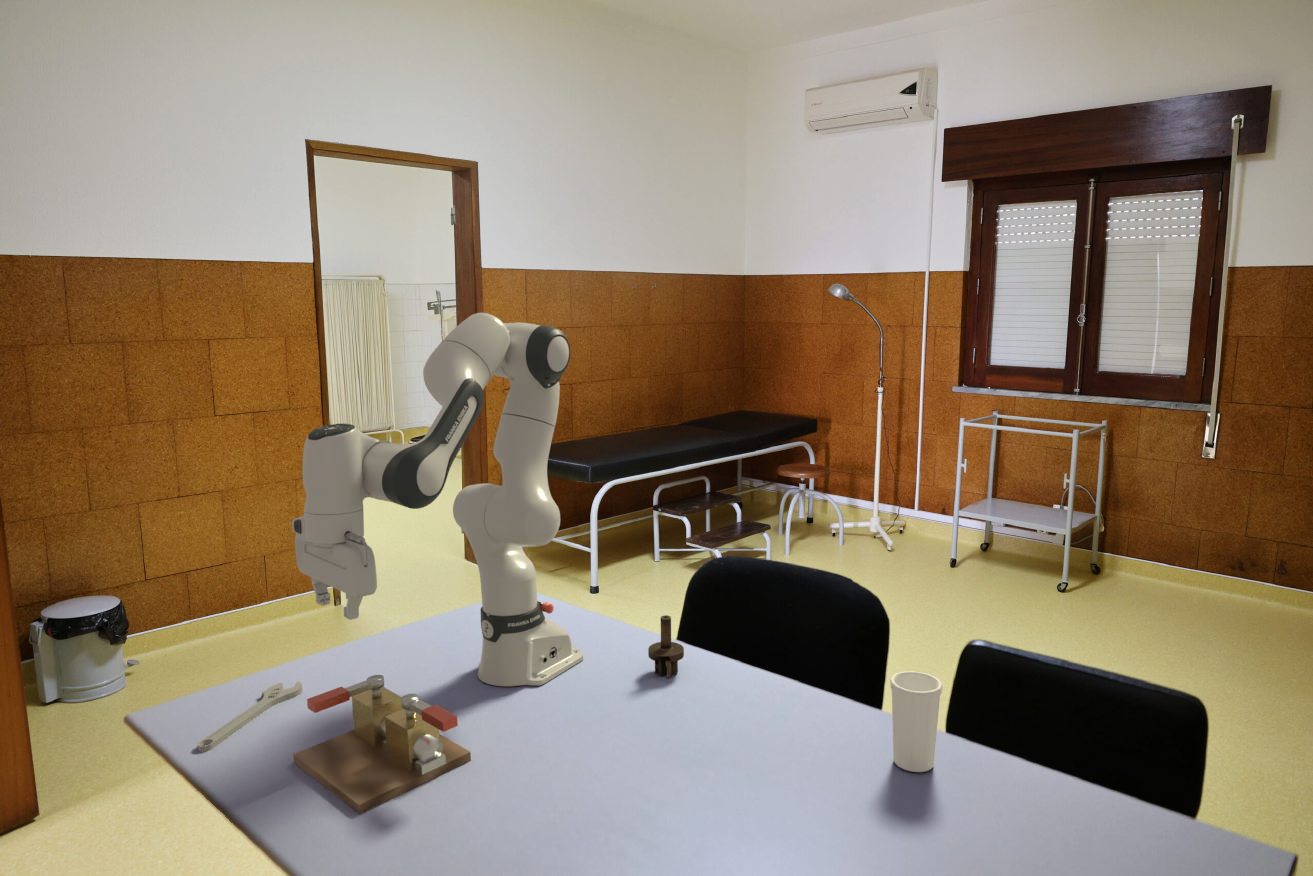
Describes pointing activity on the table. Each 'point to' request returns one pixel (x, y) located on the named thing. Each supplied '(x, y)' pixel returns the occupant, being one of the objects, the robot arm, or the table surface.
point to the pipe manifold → (402, 727)
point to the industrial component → (666, 651)
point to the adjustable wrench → (250, 714)
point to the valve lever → (343, 694)
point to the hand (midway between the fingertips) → (337, 610)
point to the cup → (915, 719)
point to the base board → (368, 769)
